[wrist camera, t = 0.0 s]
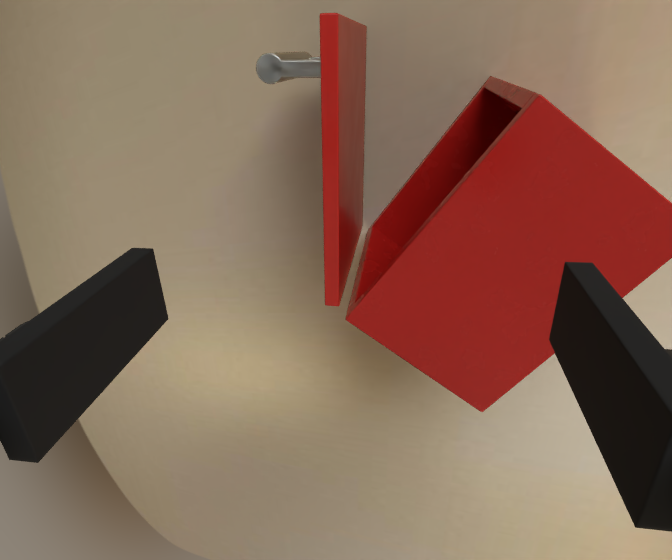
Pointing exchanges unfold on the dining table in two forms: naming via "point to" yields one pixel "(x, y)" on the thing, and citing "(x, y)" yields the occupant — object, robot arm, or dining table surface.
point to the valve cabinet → (501, 242)
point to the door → (334, 134)
